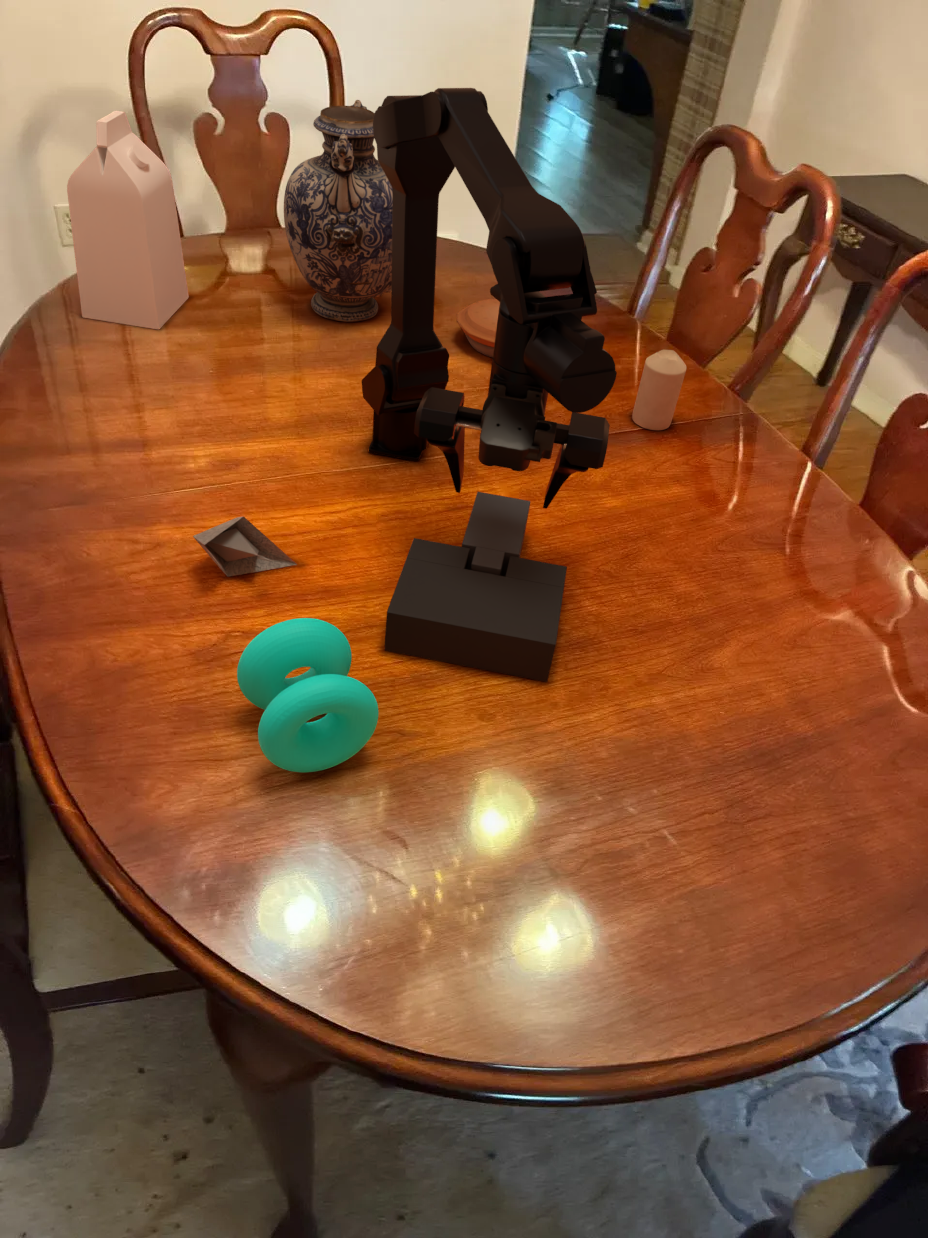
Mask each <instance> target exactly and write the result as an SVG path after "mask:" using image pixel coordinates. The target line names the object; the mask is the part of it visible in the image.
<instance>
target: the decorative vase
mask: <svg viewBox="0 0 928 1238" xmlns="http://www.w3.org/2000/svg"><path fill="white" fill-rule="evenodd" d="M374 114H375V111H372V110H370V109H368V107H367V106H364V105H363V104H362V101H361V100H360V99H355V101H354V103H353V104H352V105H331V106H326V107H324V108H322V109H321V110H320V114H319V115H318V116H317V117H316V118H315V119H314V120H313V124H312V125H313V127H314V128H315V130H317V131H318V132H321V134H322V137H323V139H324V141H323V142H322V144H321V147H322V149H323V152H322V154H320V155H317V156H316V155H315V156H313V157H311V158H308V159H305V160H303V161H302V162H300V163H299V164H298V165H297V166H296V167H295V168H294V169H293V171H291V174H290V175H289V178H288V179H287V182H286V184H285V189H284V196H283V222H284V223H283V224H284V228H285V234H286V239H287V242H288V245H289V248H290V251H291V254H292V257H293V259H294V261H295V264H296V266H297V268H298V270H299V272H300V273H301V275H302V277H303V278H304V280H305V282H306V283H307V284H308V285H309V286H310V288H311V289H313V290H314V291H315V292H316V293H314V294H313V295H312V297H311V300H310V306H311V309H312V311H313V312H314V313H316V314H317V315H319V316H321V317H322V318H325V319H327V320H331V321H336V322H342V323H343V322H344V323H357V322H364V321H367V320H371V319H372V318H374V317H375V316H376V315H377V313H378V311H379V305H378V301H377V300H376V299H375V298H378V297H382V296H383V295H384V294H385V293H386V294H387V293H391V288H392V212H393V189H392V186H391V184H390V182H389V180H388V178H387V177H386V175H385V173H384V171H383V169H382V167H381V165H380V164H379V162H378V159H376V157H375V155H374V153H375V151H376V147H375V145H374V141H375V139H374V133H373V118H374Z"/></svg>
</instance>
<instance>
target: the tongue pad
mask: <svg viewBox="0 0 928 1238" xmlns="http://www.w3.org/2000/svg"><path fill="white" fill-rule="evenodd" d="M530 508H531V500H526V499H521V498H516V497H510V496H504V495H498V494H493V493H489V492H488V493H487V492H483V491H477V492H476V495H475V499H474V502H473V506H472V509H471V511H470V515H469V519H468V523H467V526H466V529H465V533H464V536H463V540H462V543H461V547H465V548H470V551H469V559H468V566H467V570H472V571H478V572H483V573H488V574H494V575H499V576H504V577H506V573H507V568H508V564H509V559H510V556H513V557H519V558H521V556H522V555H521V554H522V549H523V545H524V541H525V535H526V529H527V523H528V519H529V512H530Z"/></svg>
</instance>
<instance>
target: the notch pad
mask: <svg viewBox="0 0 928 1238" xmlns="http://www.w3.org/2000/svg"><path fill="white" fill-rule="evenodd" d="M469 551H470V548H465V547H462V546H459V545H455V544H448V543H443V542H438V541H433V540H427V539H421V538H417V537H414V538H413V539H412V542H411V545H410V547H409V550H408V552H407V556H406V558H405V561H404V564H403V566H402V569H401V572H400V575H399V578H398V581H397V583H396V586H395V588H394V591H393V594H392V597H391V599H390V603H389V604H388V607H387V611H386V618H385V619H386V620H385V635H384V651H386V652H390V653H391V652H392V653H397V654H400V655H401V654H402V655H406V656H411V657H417V658H422V659H427V660H433V661H438V662H442V663H448V664H453V665H457V666H463V667H469V668H473V669H478V670H482V671H488V672H494V673H499V674H503V675H509V676H513V677H519V678H525V679H529V680H534V681H540V682H545V683H547V682H548V680H549V676H550V673H551V672H550V671H551V668H552V663H553V658H554V655H555V650H556V646H557V640H558V633H559V626H560V619H561V611H562V604H563V596H564V592H565V585H566V584H565V583H566V576H567V569H568V566H566V565H561V564H556V563H549V562H545V561H539V560H533V559H528V558H523V557H520V558H519V557H513V556H510V559H509V564H508V568H507V573H506V577H504V576H499V575H494V574H488V573H483V572H478V571H472V570H467V566H468V559H469Z"/></svg>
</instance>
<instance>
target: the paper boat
mask: <svg viewBox="0 0 928 1238" xmlns="http://www.w3.org/2000/svg"><path fill="white" fill-rule="evenodd" d="M192 537H193V538H194V540H195V541H196V542H197V543H198V544H199V546H200V547H201V548H202V549H203V550H204V551H205V552H206V554H207V555H208V556H209V557H210V559H211V560H212V562H214V563H215V564H216V565H217V567H218V568H219V570H221V571H222V573H224V575H225V576H226V577H227V578H229V577H234V576H241V575H247V574H252V573H258V572H264V571H270V570H274V569H282V568H286V567H292V566H297V565H298V564H297V562H295V561H294V560H293V559H292V558H291V557H290V556H289V555H287V554H286V553H285V552H284V551H283V550H282V549H281V548H280V547H279V546H278V545H276V544H275V543H274V542H273V541H272V540H271V539H270V538H268V536H266V535H265V534H264V533H263V532H262V531H261V530H259V528H257V527H256V526H255V525H254V524H253V523H251V521H250V520H249V519H247V518H246V517H245V516H237V517H235V518H232V519H230V520H227V521H225V522H223V523H221V524H218V525H215V526H213V527H210V528H208V529H206V530H204V531H201V532H199V533H197V534H194V535H192Z"/></svg>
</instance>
